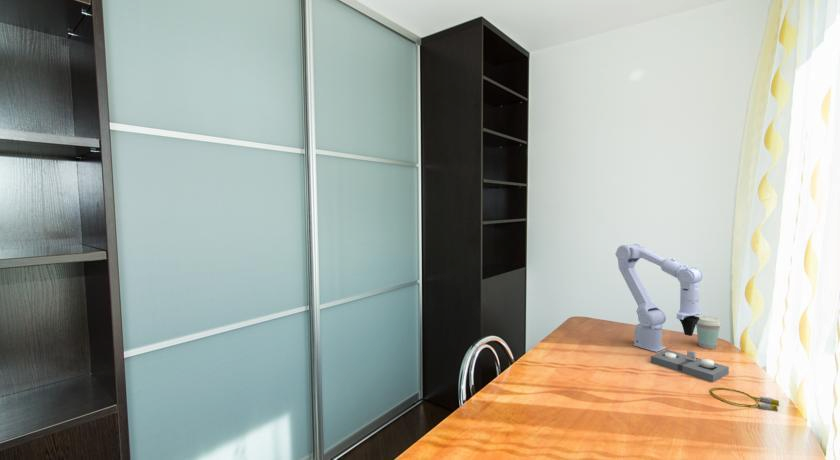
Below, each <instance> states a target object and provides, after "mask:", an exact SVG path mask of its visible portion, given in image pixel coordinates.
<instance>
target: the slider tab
mask: <svg viewBox="0 0 840 460" xmlns="http://www.w3.org/2000/svg"><path fill="white" fill-rule="evenodd" d="M696 354H697V353H696V352H695V351H692V350H687V351H686V355H687V358H685V359H688V360H691V361H696V360H697V359H696V358H697V357H696V356H697V355H696Z"/></svg>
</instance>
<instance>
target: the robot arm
mask: <svg viewBox="0 0 840 460" xmlns="http://www.w3.org/2000/svg"><path fill="white" fill-rule="evenodd" d="M615 257H616V258H617V265H618V269H619V272H620V273H621V275H622V277H623V279H624V281H625V283H626V285H627V287H628V289H629V291H630V293H631V295H632V296H633V299H634V300H635V302H636V305H637V306H638V307H637V309H636V311H635V312H636V314H637V317H638V319H637V320H638V322H639V323H638V324H636V325H635V328H634V341H633V342H634V344H633V346H634V347H637V348H640V349H641V348H642V349H644V350H647V351H651V352H655V353H657V352H658V353H659V352H662V351H664V350H667V346H663V343H662V342H663V324H665V322H666V321H667V316H666V314H665V312H664V311H663V310H662V309H660V306H658V305H657V304H656V303H655V302H653V301H652V299H651V297H650V296H649V293H648V292H647V290H646V288H645V286H644V284H643V282H642V281H641V279H640V277H639V275H638V273H637V271H636V270H635V266H636V263H638V261H639V260H640V259H643V260H646V261H648V262H650V263H652V264H655V265H656V266H659V267H660V270H661V271H663V272H664V273H666V274H668V275H669V276H672V277H674V278H676V279H677V280H678V281H679V283H680V285H679V286H680V288H679V289H680V291H679V292H680V294H679V296H680V299H679V302H680V303H679V310H678V312H677V313H676V319H677V320H679V321H680V324H681V327H682V329H683V330H682V331H683V334H684V335H686V336H689V337H691V336H693V335H694V331H695V328H696V324H697V322H698V321H699V319H700V317H698V316H703V315H702V309H701V308H699V303H700V302H699V299H700V296H699V295H700V293H699V291H700V282H701V281H702V279H703V274H702V272H701V270H700V269H698V268H697V267H689V265H688V264H683V263H681V262H679V261H677V259H676V258H674V257H673V258H670V257H669V258H664V257H661V256H660V255H658V254H656V252H655V253H654V252H653V251H651V250H650V249H648V248H646V247H645V246H643V245H640V244H638V243H633V244H627V245H624V244H623V245H619V246H618V248H617V249H616V252H615Z"/></svg>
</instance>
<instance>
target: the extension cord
mask: <svg viewBox="0 0 840 460" xmlns="http://www.w3.org/2000/svg"><path fill="white" fill-rule="evenodd" d="M719 390H720V391H729V392H736V393H740V394H743V395H745V394H746V395H745V396H748V397H750V398H751V399H754V401H756V402H755V403H754V404H748V403H747V404H746V403H737V402H732V401H729V400H726V399H724V398H722V397H720V396H718V395H717V394H715V393H714V392H713V391H719ZM709 392H710V395H711V396H713V397H714V398H716V399H717V400H720V401H721V402H723V403H727V404H728V405H731V406H735V407H741V408H752V407H759V408H758V409H761V410H766V409H767V411H774V410H776V412H777V411H778V406H780V400H779V399H775V398H771V397H765V396H760V397H755V396H752V395H750V394H748V393H747V392H745V391H740V390H737V389H733V388H727V387H711V388H710V390H709ZM758 400H759V401H760V402H763V403H759V401H758ZM765 402H766V403H765ZM768 403H769V404H768ZM773 404H774V405H773ZM777 405H778V406H777ZM751 406H752V407H751Z"/></svg>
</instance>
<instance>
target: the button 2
mask: <svg viewBox="0 0 840 460" xmlns="http://www.w3.org/2000/svg"><path fill="white" fill-rule="evenodd" d="M700 359H701V365H702V366H703V367H706V368H714V363H715V361H714V359H711V358H705V357H704V358H700Z"/></svg>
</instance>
